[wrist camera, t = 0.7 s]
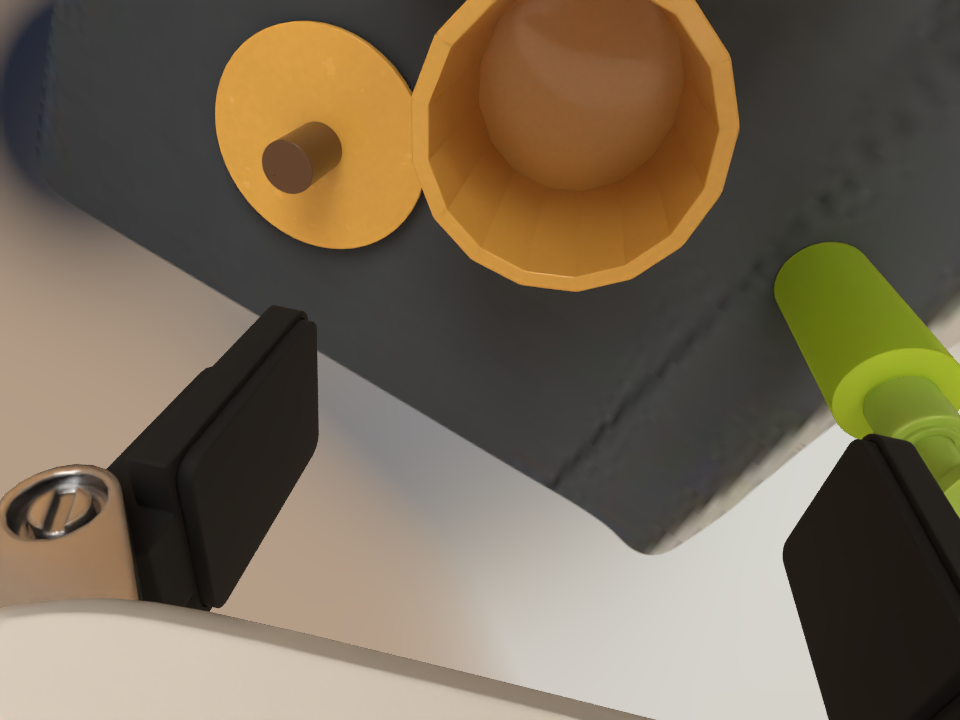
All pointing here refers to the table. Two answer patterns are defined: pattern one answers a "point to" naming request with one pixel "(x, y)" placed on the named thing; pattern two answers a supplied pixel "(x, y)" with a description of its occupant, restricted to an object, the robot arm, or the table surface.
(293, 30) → the tin lid
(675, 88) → the tin
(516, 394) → the table surface
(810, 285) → the soap dispenser
